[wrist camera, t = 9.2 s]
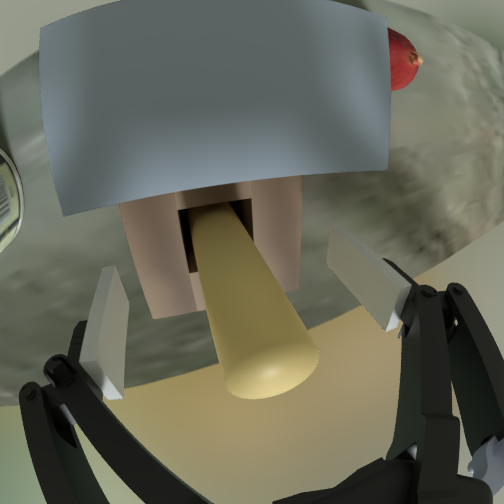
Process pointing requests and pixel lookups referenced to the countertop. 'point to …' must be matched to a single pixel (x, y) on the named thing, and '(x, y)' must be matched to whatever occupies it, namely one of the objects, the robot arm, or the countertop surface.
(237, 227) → the peg
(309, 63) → the light blue box
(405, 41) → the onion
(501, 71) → the countertop surface
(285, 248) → the socket block
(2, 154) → the coffee can
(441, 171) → the countertop surface
